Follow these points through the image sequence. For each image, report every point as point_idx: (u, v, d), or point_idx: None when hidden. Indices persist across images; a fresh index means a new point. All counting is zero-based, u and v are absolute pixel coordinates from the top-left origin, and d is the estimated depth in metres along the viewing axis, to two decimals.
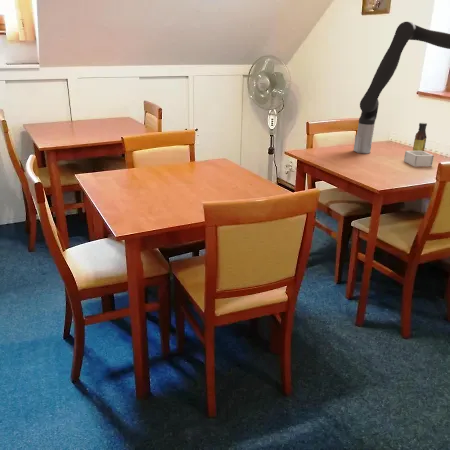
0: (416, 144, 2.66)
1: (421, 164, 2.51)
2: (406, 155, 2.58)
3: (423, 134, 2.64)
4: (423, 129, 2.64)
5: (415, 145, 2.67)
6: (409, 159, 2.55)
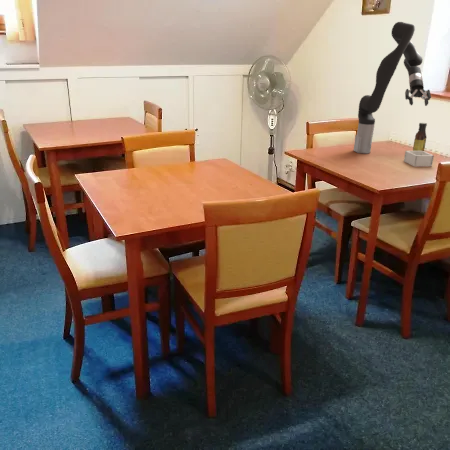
0: (416, 144, 2.66)
1: (421, 164, 2.51)
2: (406, 155, 2.58)
3: (423, 134, 2.64)
4: (423, 129, 2.64)
5: (415, 145, 2.67)
6: (409, 159, 2.55)
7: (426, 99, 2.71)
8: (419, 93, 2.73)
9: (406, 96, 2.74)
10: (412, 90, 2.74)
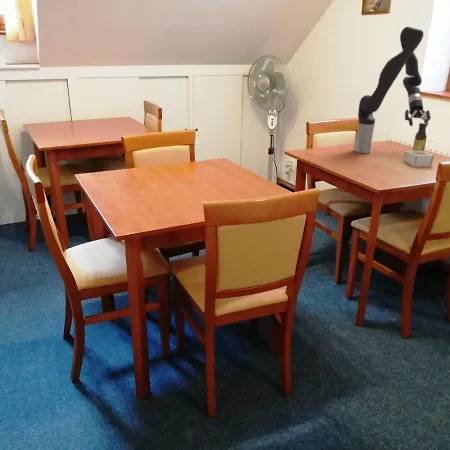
0: (416, 144, 2.66)
1: (421, 164, 2.51)
2: (406, 155, 2.58)
3: (423, 134, 2.64)
4: (423, 129, 2.64)
5: (415, 145, 2.67)
6: (409, 159, 2.55)
7: (426, 120, 2.70)
8: (419, 114, 2.72)
9: None
10: (412, 111, 2.73)
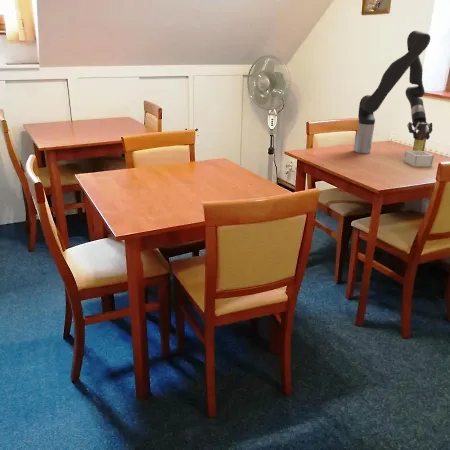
0: (416, 144, 2.66)
1: (421, 164, 2.51)
2: (406, 155, 2.58)
3: (423, 134, 2.64)
4: (423, 129, 2.64)
5: (415, 145, 2.67)
6: (409, 159, 2.55)
7: (427, 133, 2.65)
8: None
9: None
10: (414, 123, 2.68)
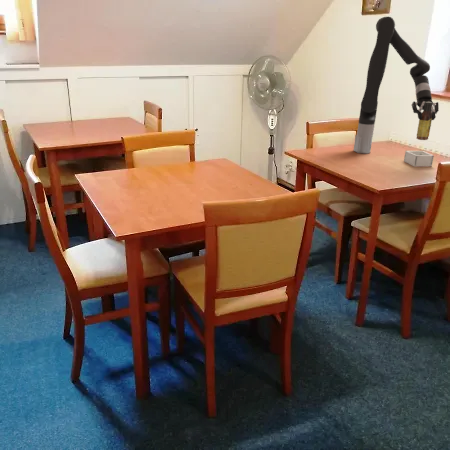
0: (421, 125, 2.47)
1: (421, 164, 2.51)
2: (406, 155, 2.58)
3: (428, 114, 2.44)
4: (428, 108, 2.44)
5: (420, 126, 2.48)
6: (409, 159, 2.55)
7: (433, 113, 2.46)
8: None
9: (414, 109, 2.49)
10: (419, 102, 2.49)
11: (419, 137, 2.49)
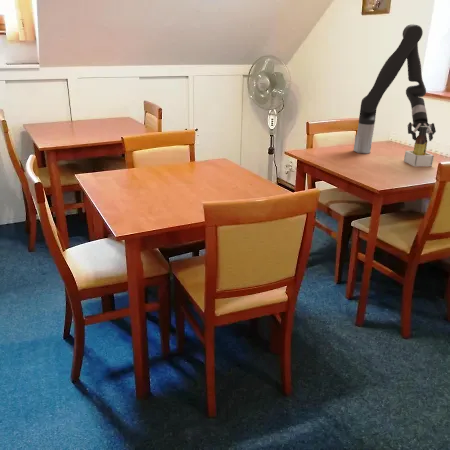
0: (417, 149, 2.52)
1: (421, 164, 2.51)
2: (406, 155, 2.58)
3: (424, 138, 2.49)
4: (424, 133, 2.49)
5: (415, 149, 2.53)
6: (409, 159, 2.55)
7: (430, 134, 2.50)
8: None
9: None
10: (415, 124, 2.53)
11: None
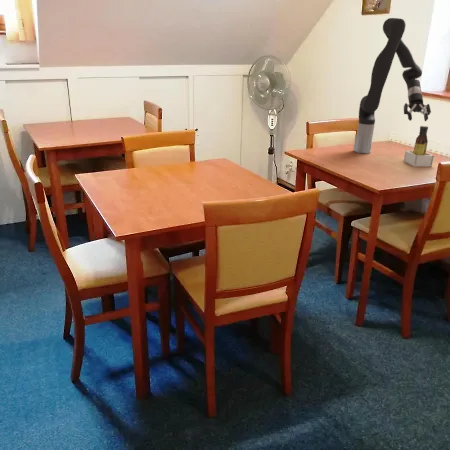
0: (417, 149, 2.52)
1: (421, 164, 2.51)
2: (406, 155, 2.58)
3: (424, 138, 2.49)
4: (424, 133, 2.49)
5: (415, 149, 2.53)
6: (409, 159, 2.55)
7: (426, 114, 2.58)
8: (418, 108, 2.59)
9: None
10: (411, 104, 2.60)
11: None
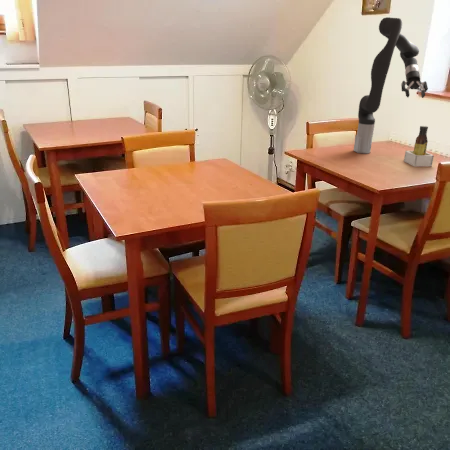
0: (417, 149, 2.52)
1: (421, 164, 2.51)
2: (406, 155, 2.58)
3: (424, 138, 2.49)
4: (424, 133, 2.49)
5: (415, 149, 2.53)
6: (409, 159, 2.55)
7: (423, 91, 2.65)
8: (416, 85, 2.67)
9: (402, 88, 2.68)
10: (408, 82, 2.68)
11: None
